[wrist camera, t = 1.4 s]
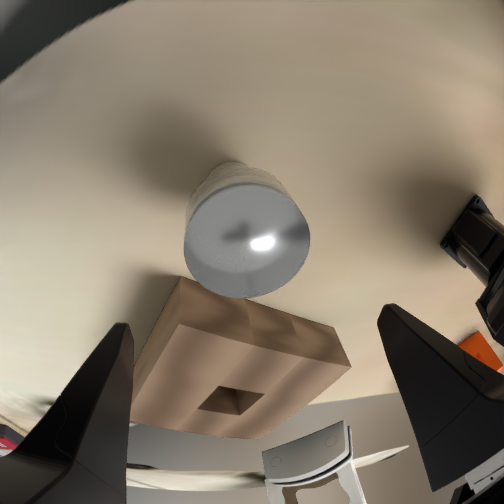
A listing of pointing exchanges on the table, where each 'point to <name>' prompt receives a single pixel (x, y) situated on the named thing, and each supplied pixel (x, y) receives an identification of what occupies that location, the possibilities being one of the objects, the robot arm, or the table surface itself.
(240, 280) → the steel peg
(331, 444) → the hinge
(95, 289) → the table surface
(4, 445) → the flat rectangular box
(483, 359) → the tape dispenser
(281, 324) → the walnut block
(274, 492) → the gable box
